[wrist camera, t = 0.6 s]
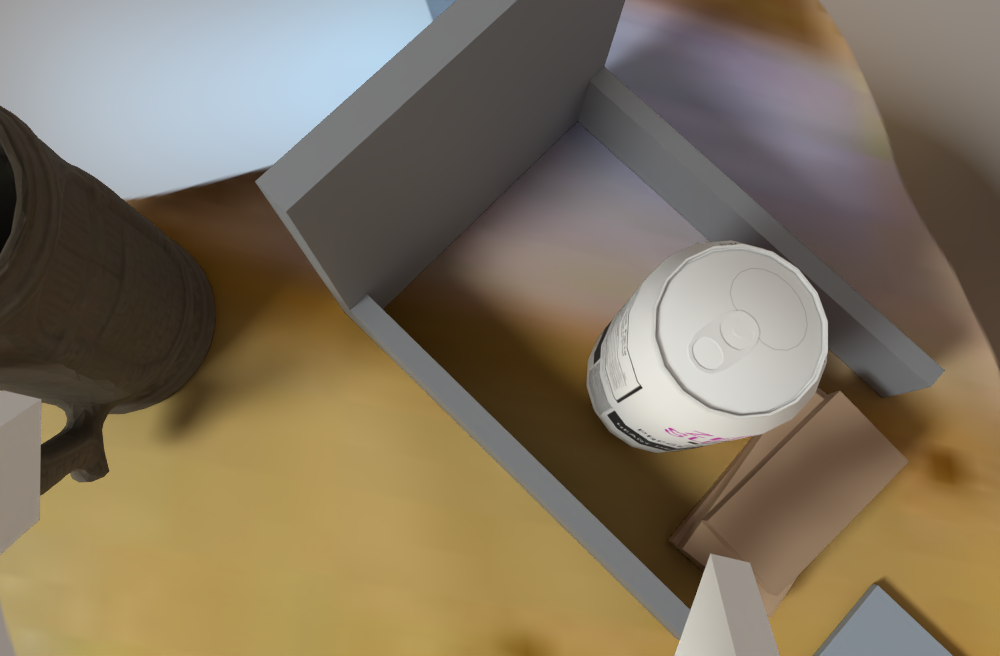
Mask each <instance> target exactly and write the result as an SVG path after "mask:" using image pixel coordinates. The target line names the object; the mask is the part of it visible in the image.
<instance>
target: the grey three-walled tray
mask: <svg viewBox="0 0 1000 656" xmlns="http://www.w3.org/2000/svg"><path fill="white" fill-rule="evenodd" d="M624 2H625V0H456V1H455V2H454V3H453V4H452V5H451V6H450V7H449V8H448V9H446V10H445V11H444V12H443V13H442V14H441V15H440V16H439V17H437V18H436V19H435V20H434V21H433V22H432V23H431V24H430V25H429V26H427V28H425V29H424V30H423V31H422V32H421V33H420V34H419V35H417V37H415V38H414V39H413V40H412V41H411V42H410V43H409V44H407V46H405V47H404V48H403V49H402V50H401V51H400V52H399V53H398V54H396V55H395V56H394V57H393V58H392V59H391V60H390V61H389V62H387V63H386V64H385V65H384V66H383V67H382V68H381V69H380V70H379V71H377V72H376V73H375V74H374V75H373V76H372V77H371V78H370V79H369V80H367V81H366V82H365V83H364V84H363V85H362V86H361V87H360V88H358V89H357V90H356V91H355V92H354V93H353V94H352V95H351V96H350V97H349V98H347V99H346V100H345V101H344V102H343V103H342V104H341V105H340V106H338V107H337V108H336V109H335V110H334V111H333V112H332V113H331V114H330V115H328V116H327V117H326V118H325V119H324V120H323V121H322V122H321V123H320V124H318V125H317V126H316V127H315V128H314V129H313V130H312V131H311V132H310V133H308V135H306V136H305V137H304V138H303V139H302V140H301V141H300V142H298V143H297V144H296V145H295V146H294V147H293V148H292V149H291V150H289V151H288V153H286V154H285V155H284V156H283V157H282V158H281V159H279V160H278V161H277V162H276V163H275V164H274V165H273V166H272V167H271V168H269V169H268V170H267V171H266V172H265V173H264V174H263V175H262V176H261V177H259V178H258V179H257V180H256V181H255V182H256V184H257V185H258V187H259V188H260V190H261V191H262V193H263V194H264V195H265V197H266V198H267V200H268V201H269V203H270V204H271V206H272V207H273V209H274V210H275V212H276V213H277V214H278V216H279V217H280V219H281V220H282V222H283V223H284V225H285V226H286V228H287V229H288V230H289V232H290V233H291V235H292V236H293V238H294V239H295V241H296V242H297V244H298V245H299V247H300V248H301V249H302V251H303V252H304V254H305V255H306V257H307V258H308V260H309V261H310V263H311V264H312V266H313V267H314V268H315V270H316V271H317V273H318V274H319V276H320V277H321V279H322V280H323V282H324V283H325V285H326V286H327V287H328V289H329V290H330V292H331V293H332V295H333V296H334V298H335V299H336V301H337V302H338V304H339V305H340V306H341V308H342V309H343V311H344V312H345V313H346V314H347V315H348V316H349V317H350V318H351V319H352V320H353V321H354V322H355V323H356V324H357V325H358V326H359V327H360V328H361V329H362V330H363V331H364V332H365V333H366V334H367V335H368V336H369V337H370V338H371V339H372V340H373V341H374V342H375V343H377V344H378V345H379V346H380V347H381V348H382V349H383V350H384V351H385V352H386V353H387V354H388V355H389V356H390V357H391V358H392V359H393V360H394V361H395V362H396V363H397V364H398V365H399V366H400V367H401V368H402V369H403V370H404V371H405V372H406V373H407V374H408V375H409V376H410V377H411V378H412V379H413V380H414V381H415V382H416V383H417V384H418V385H419V386H420V387H421V388H422V389H423V390H424V391H425V392H426V393H427V394H428V395H429V396H430V397H431V398H432V399H433V400H434V401H435V402H436V403H437V404H438V405H439V406H441V407H442V408H443V409H444V410H445V411H446V412H447V413H448V414H449V415H450V416H451V417H452V418H453V419H454V420H455V421H456V422H457V423H458V424H459V425H460V426H461V427H462V428H463V429H464V430H465V431H466V432H467V433H468V434H469V435H470V436H471V437H472V438H473V439H474V440H475V441H476V442H477V443H478V444H479V445H480V446H481V447H482V448H483V449H484V450H485V451H486V452H487V453H488V454H489V455H490V456H491V457H492V458H493V459H494V460H495V461H496V462H497V463H498V464H499V465H500V466H501V467H502V468H504V469H505V470H506V471H507V472H508V473H509V474H510V475H511V476H512V477H513V478H514V479H515V480H516V481H517V482H518V483H519V484H520V485H521V486H522V487H523V488H524V489H525V490H526V491H527V492H528V493H529V494H530V495H531V496H532V497H533V498H534V499H535V500H536V501H537V502H538V503H539V504H540V505H541V506H542V507H543V508H544V509H545V510H546V511H547V512H548V513H549V514H550V515H551V516H552V517H553V518H554V519H555V520H556V521H557V522H558V523H559V524H560V525H561V526H562V527H563V528H564V529H565V530H566V531H568V532H569V533H570V534H571V535H572V536H573V537H574V538H575V539H576V540H577V541H578V542H579V543H580V544H581V545H582V546H583V547H584V548H585V549H586V550H587V551H588V552H589V553H590V554H591V555H592V556H593V557H594V558H595V559H596V560H597V561H598V562H599V563H600V564H601V565H602V566H603V567H604V568H605V569H606V570H607V571H608V572H609V573H610V574H611V575H612V576H613V577H614V578H615V579H616V580H617V581H618V582H619V583H620V584H621V585H622V586H623V587H624V588H625V589H626V590H627V591H628V592H629V593H631V594H632V595H633V596H634V597H635V598H636V599H637V600H638V601H639V602H640V603H641V604H642V605H643V606H644V607H645V608H646V609H647V610H648V611H649V612H650V613H651V614H652V615H653V616H654V617H655V618H656V619H657V620H658V621H659V622H660V623H661V624H662V625H663V626H664V627H665V628H666V629H667V630H668V631H669V632H670V633H671V634H672V635H673V636H674V637H675V638H677V639H678V640H680V639H681V636H682V633H683V630H684V627H685V624H686V622H687V619H688V616H689V613H690V609H689V608H688V607H687V606H686V605H685V604H684V603H683V602H682V601H681V600H680V599H679V598H678V597H677V596H676V595H675V594H674V593H673V592H672V591H670V590H669V589H668V588H667V587H666V586H665V585H664V584H663V583H662V582H661V581H660V580H659V579H658V578H657V577H656V576H655V575H654V574H653V573H652V572H651V571H650V570H649V569H648V568H647V567H646V566H645V565H644V564H643V563H642V562H641V561H640V560H639V559H638V558H637V557H636V556H635V555H634V554H633V553H632V552H631V551H630V550H628V549H627V548H626V547H625V546H624V545H623V544H622V543H621V542H620V541H619V540H618V539H617V538H616V537H615V536H614V535H613V534H612V533H611V532H610V531H609V530H608V529H607V528H606V527H605V526H604V525H603V524H602V523H601V522H600V521H599V520H598V519H597V518H596V517H595V516H594V515H593V514H592V513H591V512H590V511H589V510H588V509H587V508H585V507H584V506H583V505H582V504H581V503H580V502H579V501H578V500H577V499H576V498H575V497H574V496H573V495H572V494H571V493H570V492H569V491H568V490H567V489H566V488H565V487H564V486H563V485H562V484H561V483H560V482H559V481H558V480H557V479H556V478H555V477H554V476H553V475H552V474H551V473H550V472H549V471H548V470H547V469H546V468H545V467H544V466H542V465H541V464H540V463H539V462H538V461H537V460H536V459H535V458H534V457H533V456H532V455H531V454H530V453H529V452H528V451H527V450H526V449H525V448H524V447H523V446H522V445H521V444H520V443H519V442H518V441H517V440H516V439H515V438H514V437H513V436H512V435H511V434H510V433H509V432H508V431H507V430H506V429H505V428H504V427H503V426H502V425H500V424H499V423H498V422H497V421H496V420H495V419H494V418H493V417H492V416H491V415H490V414H489V413H488V412H487V411H486V410H485V409H484V408H483V407H482V406H481V405H480V404H479V403H478V402H477V401H476V400H475V399H474V398H473V397H472V396H471V395H470V394H469V393H468V392H467V391H466V390H465V389H464V388H463V387H462V386H461V385H460V384H459V383H457V382H456V381H455V380H454V379H453V378H452V377H451V376H450V375H449V374H448V373H447V372H446V371H445V370H444V369H443V368H442V367H441V366H440V365H439V364H438V363H437V362H436V361H435V360H434V359H433V358H432V357H431V356H430V355H429V354H428V353H427V352H426V351H425V350H424V349H423V348H422V347H421V346H420V345H419V344H418V343H417V342H416V341H414V340H413V339H412V338H411V337H410V336H409V335H408V334H407V333H406V332H405V331H404V330H403V329H402V328H401V327H400V326H399V325H398V324H397V323H396V322H395V321H394V320H393V319H392V318H391V317H390V316H389V315H388V314H387V313H386V312H385V311H384V310H383V309H384V308H385V307H386V306H387V305H388V304H389V303H390V302H391V301H392V300H393V299H394V298H395V297H396V296H397V295H398V294H400V293H401V292H402V291H403V290H404V289H405V288H406V287H407V286H408V285H409V284H410V283H411V282H412V281H413V280H414V279H415V278H416V277H417V276H418V275H419V274H420V273H421V272H422V271H423V270H424V269H425V268H426V267H427V266H428V265H430V264H431V263H432V262H433V261H434V260H435V259H436V258H437V257H438V256H439V255H440V254H441V253H442V252H443V251H444V250H445V249H446V248H447V247H448V246H449V245H450V244H451V243H452V242H453V241H454V240H455V239H456V238H457V237H459V236H460V235H461V234H462V233H463V232H464V231H465V230H466V229H467V228H468V227H469V226H470V225H471V224H472V223H473V222H474V221H475V220H476V219H477V218H478V217H479V216H480V215H481V214H482V213H483V212H484V211H485V210H486V209H487V208H489V207H490V206H491V205H492V204H493V203H494V202H495V201H496V200H497V199H498V198H499V197H500V196H501V195H502V194H503V193H504V192H505V191H506V190H507V189H508V188H509V187H510V186H511V185H512V184H513V183H514V182H515V181H516V180H517V179H519V178H520V177H521V176H522V175H523V174H524V173H525V172H526V171H527V170H528V169H529V168H530V167H531V166H532V165H533V164H534V163H535V162H536V161H537V160H538V159H539V158H540V157H541V156H542V155H543V154H544V153H545V152H546V151H547V150H549V149H550V148H551V147H552V146H553V145H554V144H555V143H556V142H557V141H558V140H559V139H560V138H561V137H562V136H563V135H564V134H565V133H566V132H567V131H568V130H569V129H570V128H571V127H572V126H573V125H574V124H575V123H576V122H577V121H578V122H579V123H580V124H581V125H582V126H583V127H585V128H586V129H587V130H588V131H589V132H590V133H591V134H592V135H593V136H594V137H596V138H597V139H598V140H599V141H600V142H601V143H602V144H603V145H604V146H605V147H607V148H608V149H609V150H610V151H611V152H612V153H613V154H614V155H615V156H617V157H618V158H619V159H620V160H621V161H622V162H623V163H624V164H625V165H626V166H628V167H629V168H630V169H631V170H632V171H633V172H634V173H635V174H636V175H637V176H639V177H640V178H641V179H642V180H643V181H644V182H645V183H646V184H647V185H649V186H650V187H651V188H652V189H653V190H654V191H655V192H656V193H657V194H658V195H660V196H661V197H662V198H663V199H664V200H665V201H666V202H667V203H668V204H669V205H671V206H672V207H673V208H674V209H675V210H676V211H677V212H678V213H679V214H681V215H682V216H683V217H684V218H685V219H686V220H687V221H688V222H689V223H690V224H692V225H693V226H694V227H695V228H696V229H697V230H698V231H699V232H700V233H701V234H703V235H704V236H705V237H706V238H707V239H708V240H709V241H710V242H718V241H730V240H732V241H736V242H739V243H743V244H747V245H751V246H755V247H759V248H763V249H765V250H768V251H772V252H774V253H775V254H777V255H778V256H780V257H781V258H783V259H784V260H786V261H788V262H789V263H791V264H792V265H794V266H795V267H797V268H798V269H799V270H800V271H801V273H802V274H803V275H804V276H805V278H806V279H807V280H808V281H809V283H810V284H811V285H812V286H813V288H814V289H815V290H816V291H817V293H818V295H819V298H820V301H821V304H822V307H823V309H824V312H825V315H826V318H827V321H828V349H830V350H831V351H832V352H833V353H834V354H835V355H836V356H837V357H838V358H839V359H841V360H842V361H843V362H844V363H845V364H846V365H847V366H848V367H849V368H850V369H852V370H853V371H854V372H855V373H856V374H857V375H858V376H859V377H860V378H862V379H863V380H864V381H865V382H866V383H867V384H868V385H869V386H870V387H871V388H873V389H874V390H875V391H876V392H877V393H878V394H879V395H880V396H881V397H882V398H886V397H890V396H894V395H898V394H903V393H907V392H911V391H915V390H920V389H924V388H928V387H931V386H932V385H933V384H934V383H935V381H936V380H937V379H938V378H939V377H940V376H941V374H942V373H943V372H944V371H945V370H944V369H943V368H942V367H941V366H939V365H938V364H937V363H936V362H935V361H934V360H933V359H932V358H931V357H929V356H928V355H927V354H926V353H925V352H924V351H923V350H922V349H920V348H919V347H918V346H917V345H916V344H915V343H914V342H913V341H911V340H910V339H909V338H908V337H907V336H906V335H905V334H904V333H902V332H901V331H900V330H899V329H898V328H897V327H896V326H895V325H893V324H892V323H891V322H890V321H889V320H888V319H887V318H886V317H885V316H883V315H882V314H881V313H880V312H879V311H878V310H877V309H876V308H874V307H873V306H872V305H871V304H870V303H869V302H868V301H867V300H865V299H864V298H863V297H862V296H861V295H860V294H859V293H858V292H856V291H855V290H854V289H853V288H852V287H851V286H850V285H849V284H848V283H846V282H845V281H844V280H843V279H842V278H841V277H840V276H839V275H837V274H836V273H835V272H834V271H833V270H832V269H831V268H830V267H828V266H827V265H826V264H825V263H824V262H823V261H822V260H821V259H819V258H818V257H817V256H816V255H815V254H814V253H813V252H812V251H810V250H809V249H808V248H807V247H806V246H805V245H804V244H803V243H802V242H800V241H799V240H798V239H797V238H796V237H795V236H794V235H793V234H791V233H790V232H789V231H788V230H787V229H786V228H785V227H784V226H782V225H781V224H780V223H779V222H778V221H777V220H776V219H775V218H773V217H772V216H771V215H770V214H769V213H768V212H767V211H766V210H765V209H763V208H762V207H761V206H760V205H759V204H758V203H757V202H756V201H754V200H753V199H752V198H751V197H750V196H749V195H748V194H747V193H745V192H744V191H743V190H742V189H741V188H740V187H739V186H738V185H736V184H735V183H734V182H733V181H732V180H731V179H730V178H729V177H727V176H726V175H725V174H724V173H723V172H722V171H721V170H720V169H719V168H717V167H716V166H715V165H714V164H713V163H712V162H711V161H710V160H708V159H707V158H706V157H705V156H704V155H703V154H702V153H701V152H699V151H698V150H697V149H696V148H695V147H694V146H693V145H692V144H690V143H689V142H688V141H687V140H686V139H685V138H684V137H683V136H682V135H680V134H679V133H678V132H677V131H676V130H675V129H674V128H673V127H671V126H670V125H669V124H668V123H667V122H666V121H665V120H664V119H662V118H661V117H660V116H659V115H658V114H657V113H656V112H655V111H653V110H652V109H651V108H650V107H649V106H648V105H647V104H646V103H644V102H643V101H642V100H641V99H640V98H639V97H638V96H637V95H636V94H634V93H633V92H632V91H631V90H630V89H629V88H628V87H627V86H625V85H624V84H623V83H622V82H621V81H620V80H619V79H618V78H616V77H615V76H614V75H613V74H612V73H611V72H610V71H609V70H607V69H606V68H605V67H604V66H605V63H606V59H607V56H608V53H609V50H610V47H611V43H612V40H613V37H614V34H615V31H616V28H617V24H618V21H619V18H620V15H621V12H622V8H623V5H624Z"/></svg>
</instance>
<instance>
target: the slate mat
mask: <svg viewBox="0 0 1000 656" xmlns="http://www.w3.org/2000/svg"><path fill="white" fill-rule="evenodd" d="M813 656H953V655H952V654H950V653H949V652H948V651H947V650H946V649H945V648H944V647H943V646H942V645H941V644H940V643H939V642H938V641H937V640H936V639H934V638H933V637H932V636H931V635H930V634H929V633H928V632H927V631H926V630H925V629H924V628H923V627H922V626H921V625H920V624H919V623H917V622H916V621H915V620H914V619H913V618H912V617H911V616H910V615H909V614H908V613H907V612H906V611H905V610H904V609H903V608H901V607H900V606H899V605H898V604H897V603H896V602H895V601H894V600H893V599H892V598H891V597H890V596H889V595H888V594H887V593H886V592H884V591H883V590H882V589H881V588H880V587H879V586H878V585H875V584H872V585H871V586H870V588H869V589H868V590H867V591H866V592H865V594H864V595H863V596H862V597H861V598H860V600H859V601H858V602H857V603H856V604H855V606H854V607H853V608H852V609H851V611H850V612H849V613H848V614H847V615H846V617H845V618H844V619H843V620H842V621H841V623H840V624H839V625H838V626H837V627H836V629H835V630H834V631H833V632H832V633H831V635H830V636H829V637H828V638H827V640H826V641H825V642H824V643H823V644H822V646H821V647H820V648H819V649H818V650H817V652H816V653H815V654H814V655H813Z"/></svg>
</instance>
